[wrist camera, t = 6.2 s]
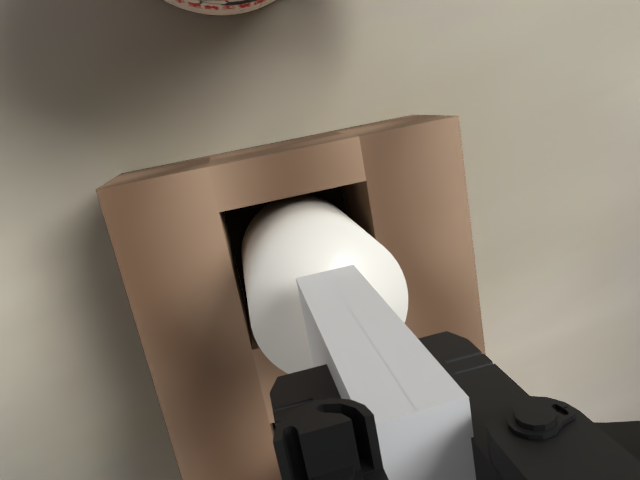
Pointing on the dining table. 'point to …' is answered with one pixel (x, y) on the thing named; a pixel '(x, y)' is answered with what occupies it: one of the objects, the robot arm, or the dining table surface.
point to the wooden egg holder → (224, 282)
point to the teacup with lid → (220, 6)
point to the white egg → (306, 270)
